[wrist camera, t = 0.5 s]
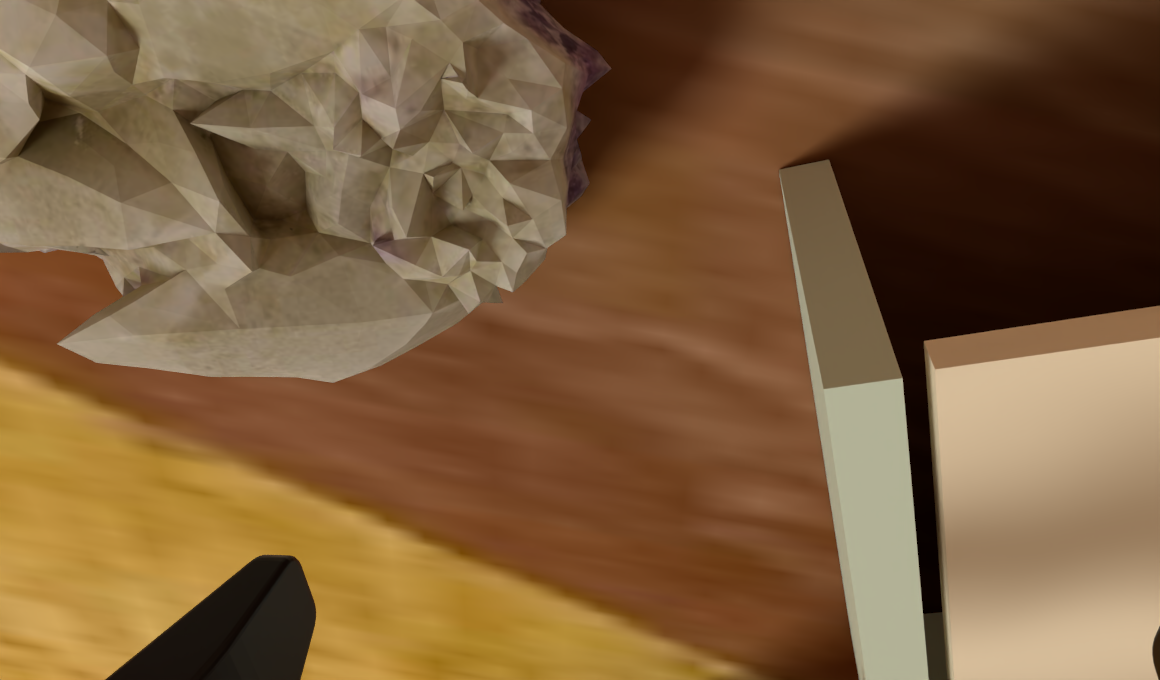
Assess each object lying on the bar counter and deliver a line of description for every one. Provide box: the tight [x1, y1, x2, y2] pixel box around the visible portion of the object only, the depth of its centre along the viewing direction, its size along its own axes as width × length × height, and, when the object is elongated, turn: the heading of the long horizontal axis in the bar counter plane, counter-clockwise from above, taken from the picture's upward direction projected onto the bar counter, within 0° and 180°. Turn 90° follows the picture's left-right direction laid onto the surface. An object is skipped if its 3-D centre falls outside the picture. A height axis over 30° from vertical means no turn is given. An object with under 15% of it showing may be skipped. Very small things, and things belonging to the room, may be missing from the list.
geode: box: [0, 0, 611, 383], centre depth 18 cm, size 17×9×15 cm
